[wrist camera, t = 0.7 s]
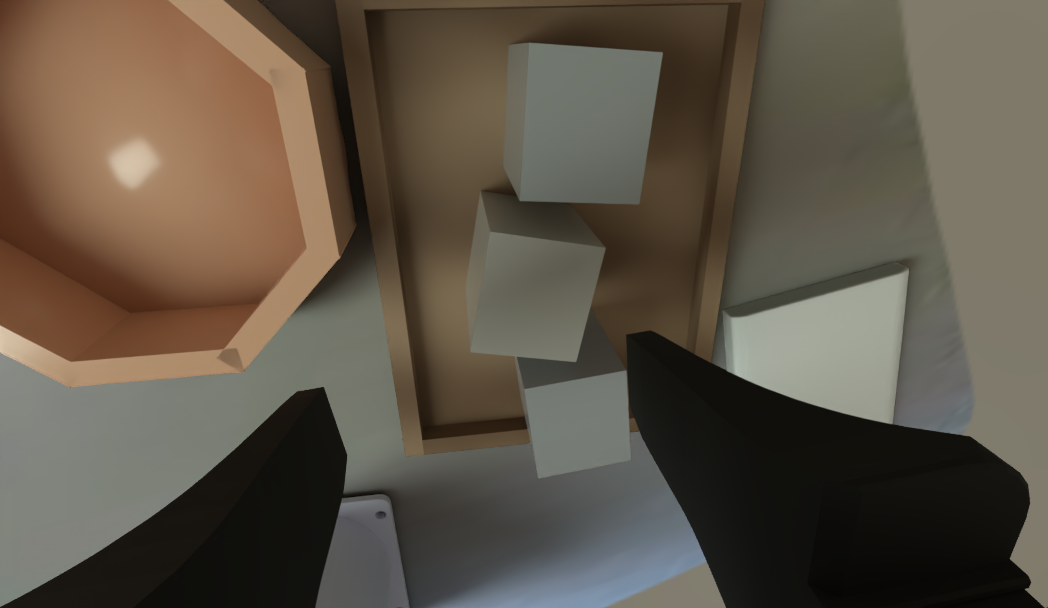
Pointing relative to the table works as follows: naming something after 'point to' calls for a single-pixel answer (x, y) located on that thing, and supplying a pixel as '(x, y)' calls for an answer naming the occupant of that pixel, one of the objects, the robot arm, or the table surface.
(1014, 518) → the robot arm
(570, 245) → the stone
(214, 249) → the bowl
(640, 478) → the table surface
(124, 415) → the table surface
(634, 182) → the stone
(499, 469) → the table surface
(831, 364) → the external hard drive
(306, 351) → the table surface
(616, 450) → the stone
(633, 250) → the tray
